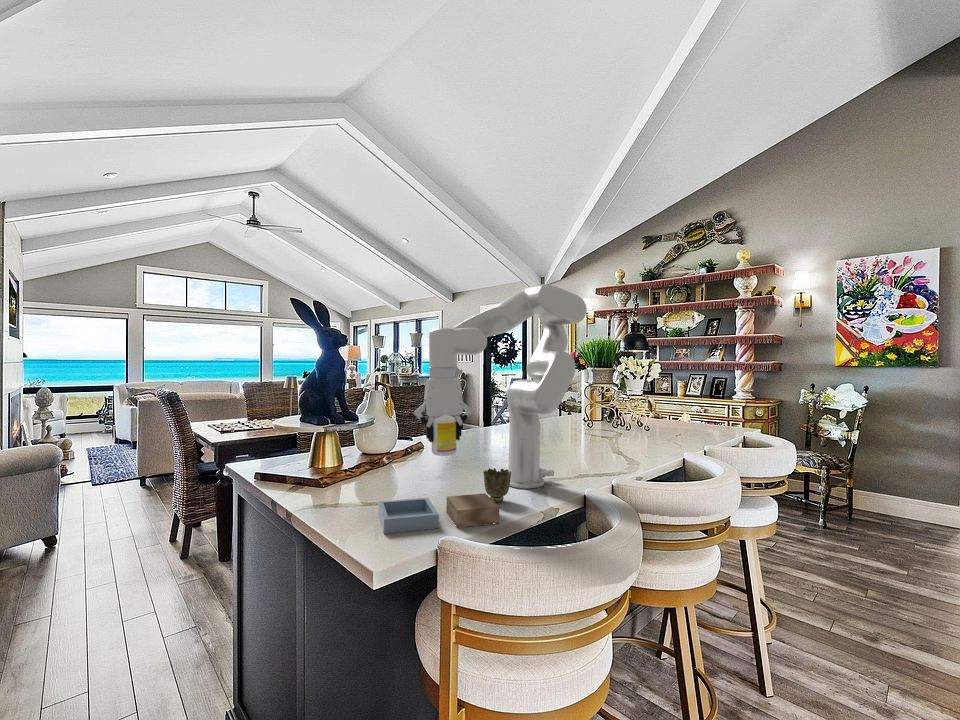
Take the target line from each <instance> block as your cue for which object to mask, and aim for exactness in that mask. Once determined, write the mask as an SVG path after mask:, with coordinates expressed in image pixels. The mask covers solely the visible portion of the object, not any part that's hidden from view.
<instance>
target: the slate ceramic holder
mask: <svg viewBox="0 0 960 720" xmlns="http://www.w3.org/2000/svg"><path fill="white" fill-rule="evenodd" d="M439 516H440V514H439V512H438V510H437V509H436V507H435V506H434V505H433V503H432V502H431V500H430V498H429V497H418V498H409V499H395V500H394V499H393V500H392V499H391V500H382V501H378V518H379V522H380V526H381V529H382V533H383V535H386V534H395V533H397V534H398V533H404V532H405V533H406V531H407V532H414V531H415V532H416V531H425V529H427V530H435V529H434V528H437V529H440V528H439V523H440V522H439V521H440V519H439V518H440V517H439Z"/></svg>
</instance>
